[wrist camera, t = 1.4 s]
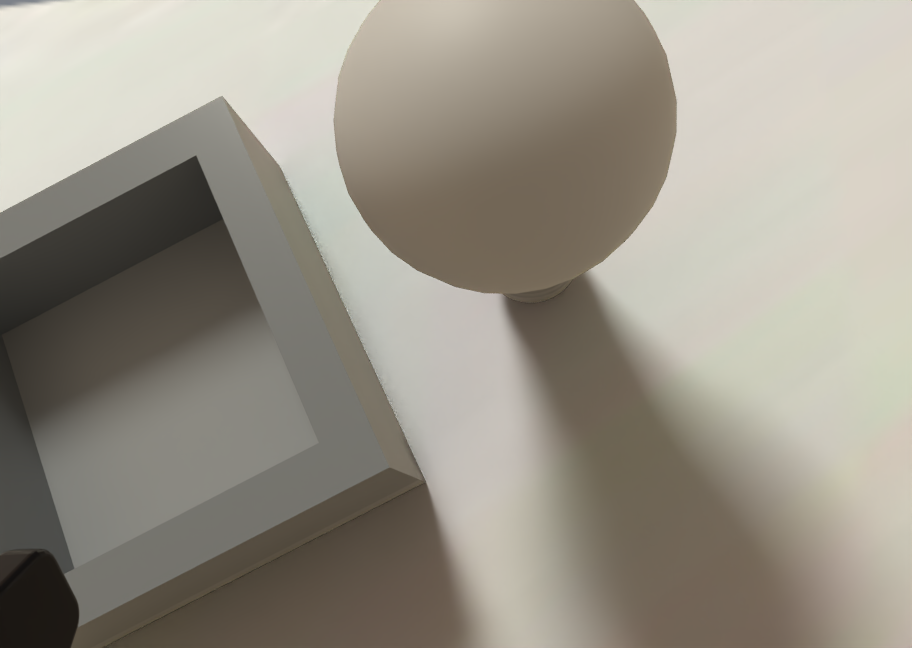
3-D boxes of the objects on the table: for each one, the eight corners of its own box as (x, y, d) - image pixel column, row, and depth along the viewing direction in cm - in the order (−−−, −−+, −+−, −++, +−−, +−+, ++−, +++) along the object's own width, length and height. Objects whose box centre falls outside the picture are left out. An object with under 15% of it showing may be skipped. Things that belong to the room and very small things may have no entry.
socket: (426, 482, 22) (389, 467, 18) (75, 661, 22) (-35, 685, 18) (279, 165, 25) (221, 95, 21) (-26, 325, 25) (-137, 285, 21)
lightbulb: (659, 174, 23) (715, -145, 12) (634, 391, 21) (672, 239, 11) (443, 156, 24) (327, -149, 14) (406, 361, 23) (242, 197, 12)
